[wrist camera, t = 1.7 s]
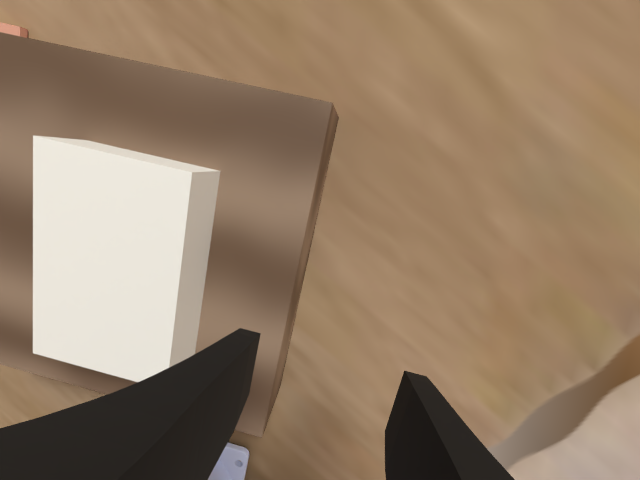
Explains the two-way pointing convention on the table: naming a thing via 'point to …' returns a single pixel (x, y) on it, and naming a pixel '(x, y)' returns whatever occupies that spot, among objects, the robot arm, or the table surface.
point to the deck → (184, 146)
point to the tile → (118, 256)
